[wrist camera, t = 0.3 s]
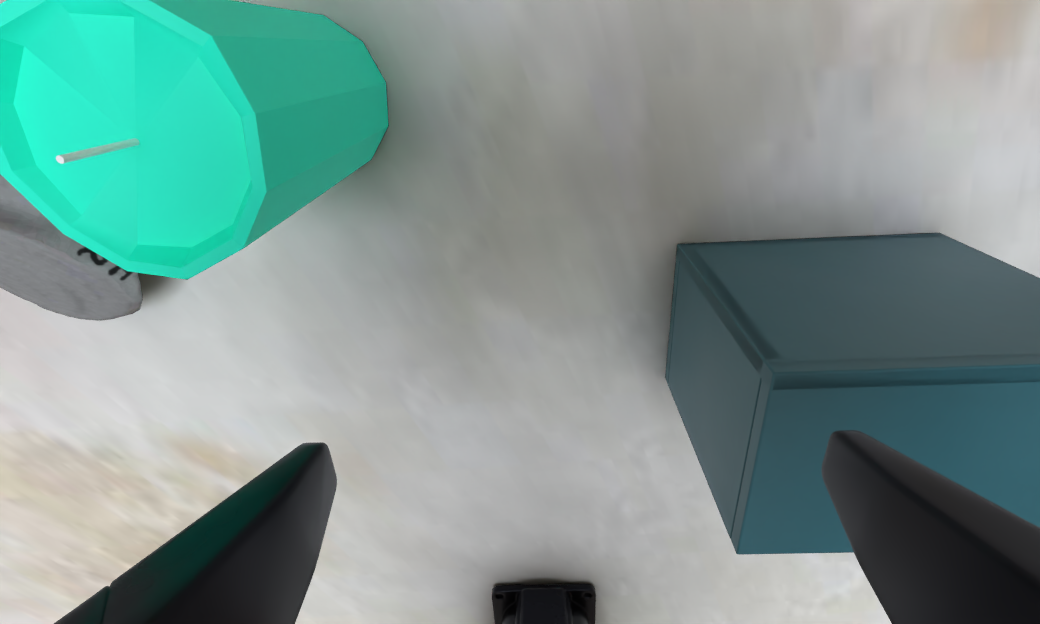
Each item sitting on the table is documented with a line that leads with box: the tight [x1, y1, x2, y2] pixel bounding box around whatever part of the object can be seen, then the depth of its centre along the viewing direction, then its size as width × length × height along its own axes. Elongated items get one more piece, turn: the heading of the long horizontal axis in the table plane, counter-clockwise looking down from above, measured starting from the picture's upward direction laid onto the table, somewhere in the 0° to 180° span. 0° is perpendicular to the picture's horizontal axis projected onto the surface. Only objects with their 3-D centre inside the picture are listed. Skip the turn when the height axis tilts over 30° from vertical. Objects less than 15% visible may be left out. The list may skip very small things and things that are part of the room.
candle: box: [0, 0, 389, 280], centre depth 15 cm, size 6×6×12 cm
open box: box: [665, 233, 1040, 554], centre depth 19 cm, size 7×11×10 cm, turn 93°
